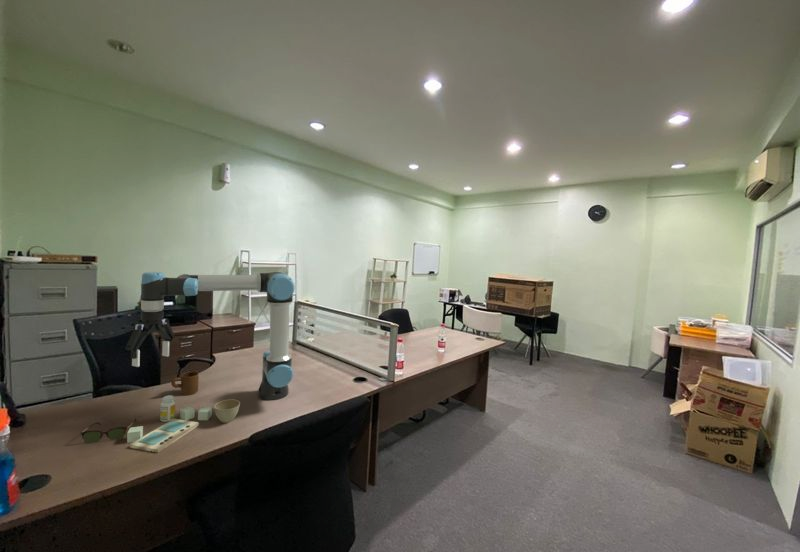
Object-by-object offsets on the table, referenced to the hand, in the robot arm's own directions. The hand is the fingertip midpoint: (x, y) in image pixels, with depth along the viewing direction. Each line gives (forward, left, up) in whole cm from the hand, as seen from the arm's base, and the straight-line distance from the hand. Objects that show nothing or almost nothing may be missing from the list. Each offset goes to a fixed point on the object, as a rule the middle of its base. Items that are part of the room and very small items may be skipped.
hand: (151, 360), depth 139 cm
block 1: (-4, +11, -27) cm, 29 cm away
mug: (+9, -28, -27) cm, 40 cm away
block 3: (-17, -10, -27) cm, 34 cm away
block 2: (-10, -8, -27) cm, 30 cm away
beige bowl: (-27, -11, -27) cm, 40 cm away
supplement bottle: (-3, -5, -27) cm, 28 cm away
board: (-13, +6, -27) cm, 31 cm away
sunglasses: (+9, +8, -28) cm, 30 cm away
